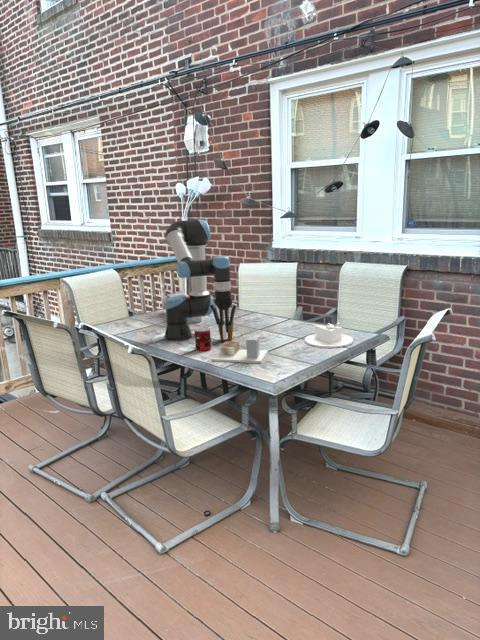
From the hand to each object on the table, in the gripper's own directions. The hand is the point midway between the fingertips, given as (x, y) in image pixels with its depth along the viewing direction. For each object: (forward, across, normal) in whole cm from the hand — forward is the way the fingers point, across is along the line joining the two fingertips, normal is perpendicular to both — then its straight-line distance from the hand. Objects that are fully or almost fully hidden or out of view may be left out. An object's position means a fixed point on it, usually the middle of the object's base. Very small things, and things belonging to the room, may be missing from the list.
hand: (225, 338), depth 221 cm
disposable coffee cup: (+10, -9, +30) cm, 33 cm away
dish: (+10, +46, +34) cm, 58 cm away
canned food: (+10, -16, +12) cm, 23 cm away
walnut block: (+7, 0, +1) cm, 7 cm away
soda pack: (+10, -53, +78) cm, 95 cm away
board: (+10, +6, +3) cm, 12 cm away
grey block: (+9, +13, +1) cm, 16 cm away
